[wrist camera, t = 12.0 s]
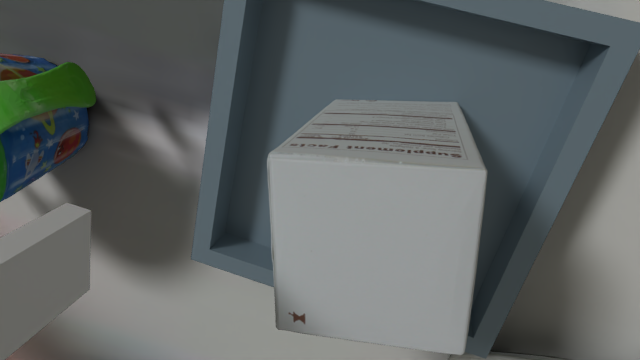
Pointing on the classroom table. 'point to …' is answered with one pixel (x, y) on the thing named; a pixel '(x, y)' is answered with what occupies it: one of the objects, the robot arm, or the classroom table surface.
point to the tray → (413, 85)
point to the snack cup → (39, 118)
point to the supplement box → (378, 224)
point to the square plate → (500, 357)
